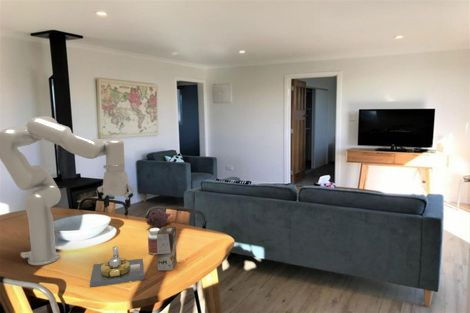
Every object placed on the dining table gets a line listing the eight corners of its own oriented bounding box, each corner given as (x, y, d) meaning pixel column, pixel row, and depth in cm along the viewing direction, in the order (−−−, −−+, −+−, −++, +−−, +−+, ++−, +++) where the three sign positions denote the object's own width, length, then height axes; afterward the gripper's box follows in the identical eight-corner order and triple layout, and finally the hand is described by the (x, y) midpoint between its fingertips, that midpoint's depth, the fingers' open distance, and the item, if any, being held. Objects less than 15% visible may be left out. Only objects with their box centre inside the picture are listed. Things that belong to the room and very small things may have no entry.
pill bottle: (162, 254, 166) (161, 231, 165) (148, 255, 165) (147, 232, 163) (161, 249, 172) (161, 226, 171) (148, 250, 171) (147, 227, 169)
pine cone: (153, 232, 194) (152, 214, 192) (140, 229, 199) (139, 212, 197) (174, 223, 209) (174, 206, 207) (161, 220, 214) (161, 204, 212)
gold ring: (129, 274, 142) (128, 259, 141) (100, 278, 139) (99, 262, 138) (129, 258, 156) (128, 245, 155) (102, 261, 153) (102, 247, 152)
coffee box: (172, 270, 150) (171, 233, 147) (157, 270, 150) (156, 233, 148) (177, 261, 159) (176, 226, 157) (162, 261, 159) (161, 226, 157)
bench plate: (90, 287, 137) (89, 269, 136) (93, 268, 152) (92, 252, 151) (144, 279, 142) (143, 263, 141) (142, 262, 157) (142, 247, 156)
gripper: (92, 169, 152) (94, 208, 155) (130, 170, 149) (132, 210, 152) (101, 166, 159) (103, 203, 162) (138, 167, 157) (139, 205, 159)
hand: (117, 207), depth 157 cm, fingers open, 9 cm apart
